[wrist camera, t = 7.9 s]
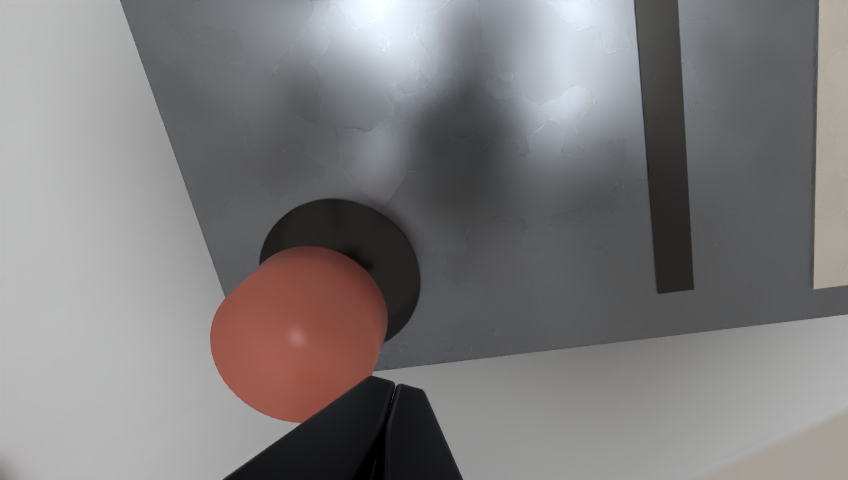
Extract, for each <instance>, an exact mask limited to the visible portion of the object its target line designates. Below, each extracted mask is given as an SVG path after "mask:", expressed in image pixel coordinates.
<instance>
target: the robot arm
mask: <svg viewBox="0 0 848 480" xmlns="http://www.w3.org/2000/svg"><path fill="white" fill-rule="evenodd" d="M394 390H395V392H394ZM393 394H394V395H393ZM392 397H393V399H392ZM391 401H392V402H391ZM390 405H391V406H390ZM389 409H390V410H389ZM374 465H375V466H374ZM373 469H374V470H373ZM372 473H373V474H372ZM371 476H372V477H371ZM223 480H463V478H462V476H461V474H460V472H459V469H458V467H457V465H456V462H455V460H454V458H453V456H452V453H451V451H450V449H449V446H448V444H447V442H446V440H445V437H444V435H443V433H442V430H441V428H440V426H439V424H438V421H437V419H436V417H435V414H434V412H433V410H432V408H431V405H430V403H429V401H428V398H427V396H426V394H425V392H424V391H423V390H422V389H419V388H415V387H412V386H408V385H404V384H398V385H397V386H396V388H395V384H394V382H392V381H389V380H386V379H382V378H378V377H375V376H368V377H366V378H365V379H364V380H362V381H361V382H359V383H358V384H357V385H355V386H354V387H352V388H351V389H350V390H348V391H347V392H345V393H344V394H343V395H341V396H340V397H338V398H337V399H335V400H334V401H333V402H331V403H330V404H328V405H327V406H326V407H324V408H323V409H321V410H320V411H319V412H317V413H316V414H314V415H313V416H311V417H310V418H309V419H307V420H306V421H304V422H303V423H302V424H300V425H299V426H297V427H296V428H295V429H293V430H292V431H290V432H289V433H288V434H286V435H285V436H283V437H282V438H280V439H279V440H278V441H276V442H275V443H273V444H272V445H271V446H269V447H268V448H266V449H265V450H264V451H262V452H261V453H259V454H258V455H256V456H255V457H254V458H252V459H251V460H249V461H248V462H247V463H245V464H244V465H242V466H241V467H240V468H238V469H237V470H235V471H234V472H232V473H231V474H230V475H228V476H227V477H225V478H224V479H223Z"/></svg>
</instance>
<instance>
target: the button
mask: <svg viewBox="0 0 848 480" xmlns="http://www.w3.org/2000/svg"><path fill="white" fill-rule="evenodd" d="M387 325H388V314H387V308H386V303H385V300H384V297H383V295H382V293H381V291H380V289H379V287H378V285H377V284H376V282H375V281H374V279H373V278H372V277H371V276H370V274H369V273H368V272H367V271H366V270H365V269H364V268H363V267H361V266H360V265H359V264H358V263H356V262H355V261H354V260H352V259H350V258H349V257H347V256H345V255H343V254H341V253H339V252H336V251H334V250H330V249H327V248H322V247H315V246H301V247H293V248H289V249H286V250H283V251H280V252H278V253H276V254H274V255H272V256H271V257H269V258H268V259H267V260H265V261H264V262H263V263H262V264H261V265H260V266H259V267H258V268H257V269H256V270H255V271H254V272H252V273H251V274H250V275H249V276H248V277H247V278H246V279H245V280H244V281H243V282H242V283H241V284H240V285H239V286H238V287H237V288H236V289H235V290H234V291H233V292H231V293H230V294H229V295H228V297H227V298H226V299H225V300H224V301H223V302H222V304H221V305H220V307H219V308H218V310H217V312H216V314H215V316H214V319H213V322H212V326H211V334H210V344H211V351H212V355H213V359H214V362H215V365H216V367H217V369H218V371H219V373H220V375H221V377H222V378H223V380H224V381H225V383H226V384H227V385H228V387H229V388H230V389H231V390H232V391H233V392H234V393H235V394H236V395H237V396H238V397H239V398H240V399H241V400H242V401H244V402H245V403H246V404H248V405H249V406H251V407H252V408H254V409H255V410H257V411H259V412H261V413H263V414H265V415H268V416H270V417H273V418H276V419H280V420H283V421H289V422H296V423H303V422H304V421H306V420H307V419H309V418H310V417H311V416H313V415H314V414H316V413H317V412H319V411H320V410H321V409H323V408H324V407H326V406H327V405H328V404H330V403H331V402H333V401H334V400H335V399H337V398H338V397H340V396H341V395H343V394H344V393H345V392H347V391H348V390H350V389H351V388H352V387H354V386H355V385H357V384H358V383H359V382H361V381H362V380H364V379H365V378H366V377H368V376H372V373H373V370H374V367H375V365H376V362H377V359H378V356H379V353H380V351H381V348H382V345H383V342H384V339H385V336H386V332H387Z"/></svg>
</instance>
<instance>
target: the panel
mask: <svg viewBox="0 0 848 480" xmlns="http://www.w3.org/2000/svg"><path fill="white" fill-rule="evenodd" d="M120 2H121V4H122V7H123V10H124V13H125V16H126V19H127V21H128V24H129V27H130V30H131V33H132V35H133V38H134V41H135V44H136V47H137V50H138V52H139V55H140V58H141V61H142V64H143V66H144V69H145V72H146V75H147V78H148V81H149V83H150V86H151V89H152V92H153V95H154V97H155V100H156V103H157V106H158V109H159V112H160V114H161V117H162V120H163V123H164V126H165V129H166V131H167V134H168V137H169V140H170V143H171V145H172V148H173V151H174V154H175V157H176V160H177V162H178V165H179V168H180V171H181V174H182V176H183V179H184V182H185V185H186V188H187V191H188V193H189V196H190V199H191V202H192V205H193V207H194V210H195V213H196V216H197V219H198V222H199V224H200V227H201V230H202V233H203V236H204V238H205V241H206V244H207V247H208V250H209V253H210V255H211V258H212V261H213V264H214V267H215V270H216V272H217V275H218V278H219V281H220V284H221V286H222V289H223V292H224V295H225V298H227V297H228V295H229V294H230V293H231V292H233V291H234V290H235V289H236V288H237V287H238V286H239V285H240V284H241V283H242V282H243V281H244V280H245V279H246V278H247V277H248V276H249V275H250V274H251V273H252V272H254V271H255V270H256V269H257V268H258V267H259V266H260V265H261V264H262V263H263V262H264V261H265V260H267V259H268V258H269V257H271V256H272V255H274V254H276V253H278V252H280V251H283V250H286V249H289V248H293V247H301V246H315V247H322V248H327V249H330V250H334V251H336V252H339V253H341V254H343V255H345V256H347V257H349V258H350V259H352V260H354V261H355V262H356V263H358V264H359V265H360V266H361V267H363V268H364V269H365V270H366V271H367V272H368V273H369V274H370V276H371V277H372V278H373V279H374V281H375V282H376V284H377V285H378V287H379V289H380V291H381V293H382V295H383V297H384V300H385V303H386V308H387V314H388V325H387V332H386V336H385V339H384V342H383V345H382V348H381V351H380V353H379V356H378V359H377V362H376V365H375V367H374V370H373V371H380V370H389V369H397V368H405V367H414V366H422V365H430V364H439V363H447V362H455V361H464V360H472V359H480V358H488V357H497V356H505V355H513V354H522V353H530V352H538V351H547V350H555V349H563V348H572V347H580V346H588V345H596V344H605V343H613V342H621V341H630V340H638V339H646V338H655V337H663V336H671V335H680V334H688V333H696V332H705V331H713V330H721V329H729V328H738V327H746V326H754V325H763V324H771V323H779V322H788V321H796V320H804V319H813V318H821V317H829V316H838V315H846V314H848V0H120Z"/></svg>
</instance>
